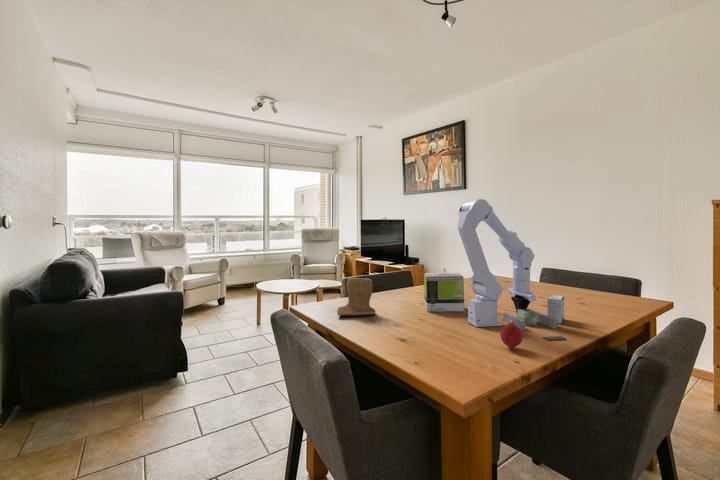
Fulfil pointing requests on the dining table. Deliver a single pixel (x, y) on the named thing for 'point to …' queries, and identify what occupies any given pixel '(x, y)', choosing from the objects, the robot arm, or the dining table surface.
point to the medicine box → (556, 308)
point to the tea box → (444, 291)
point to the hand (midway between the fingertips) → (521, 316)
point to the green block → (527, 316)
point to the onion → (511, 335)
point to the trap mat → (554, 338)
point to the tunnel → (540, 318)
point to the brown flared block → (357, 298)
